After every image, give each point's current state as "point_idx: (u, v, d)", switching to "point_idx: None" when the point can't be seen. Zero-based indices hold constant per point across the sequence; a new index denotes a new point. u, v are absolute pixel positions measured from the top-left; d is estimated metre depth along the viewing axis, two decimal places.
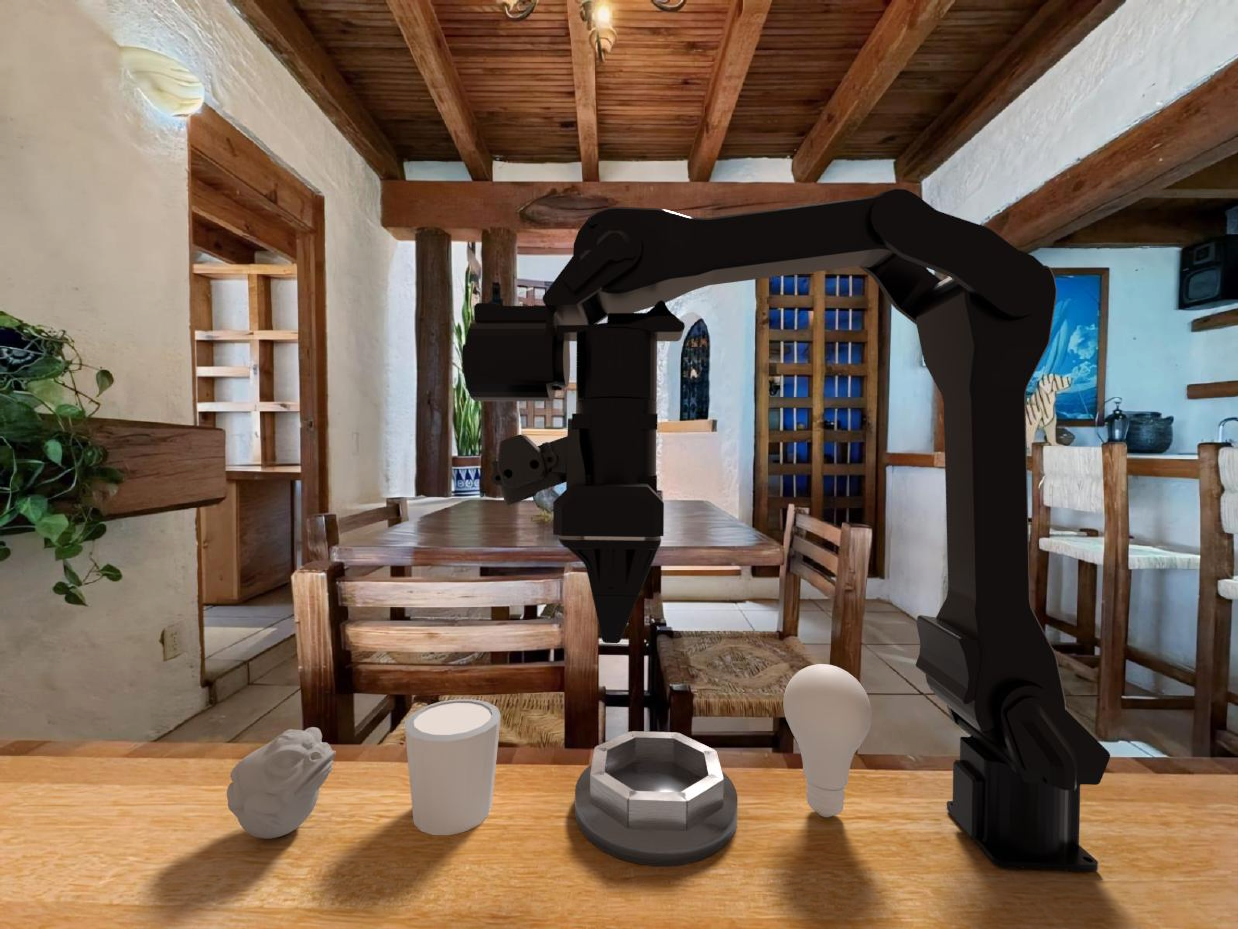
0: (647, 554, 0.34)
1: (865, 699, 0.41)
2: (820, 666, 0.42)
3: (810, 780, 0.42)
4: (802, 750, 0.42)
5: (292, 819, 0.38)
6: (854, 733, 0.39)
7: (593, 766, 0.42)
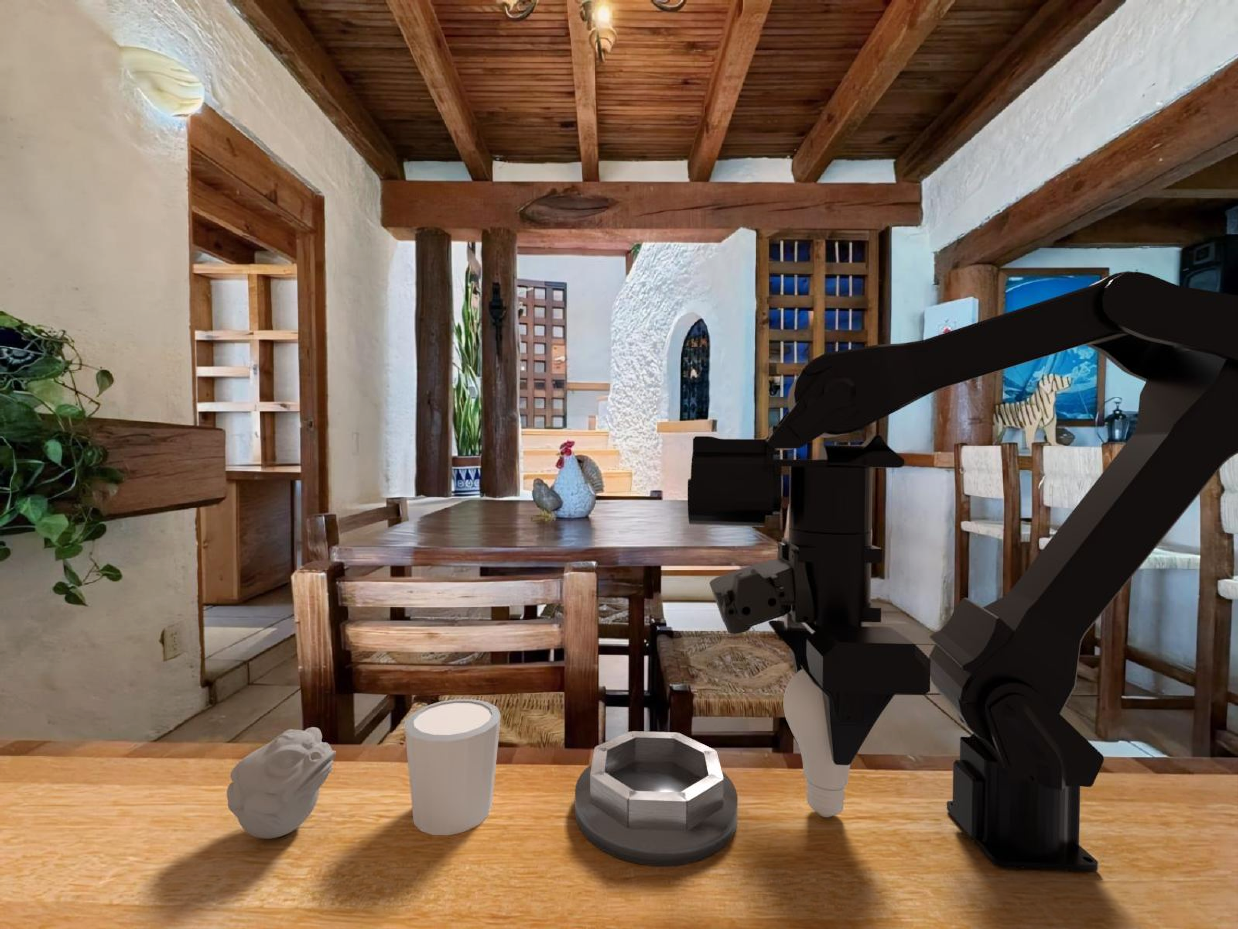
0: None
1: None
2: None
3: (810, 780, 0.42)
4: (802, 750, 0.42)
5: (292, 819, 0.38)
6: None
7: (593, 766, 0.42)
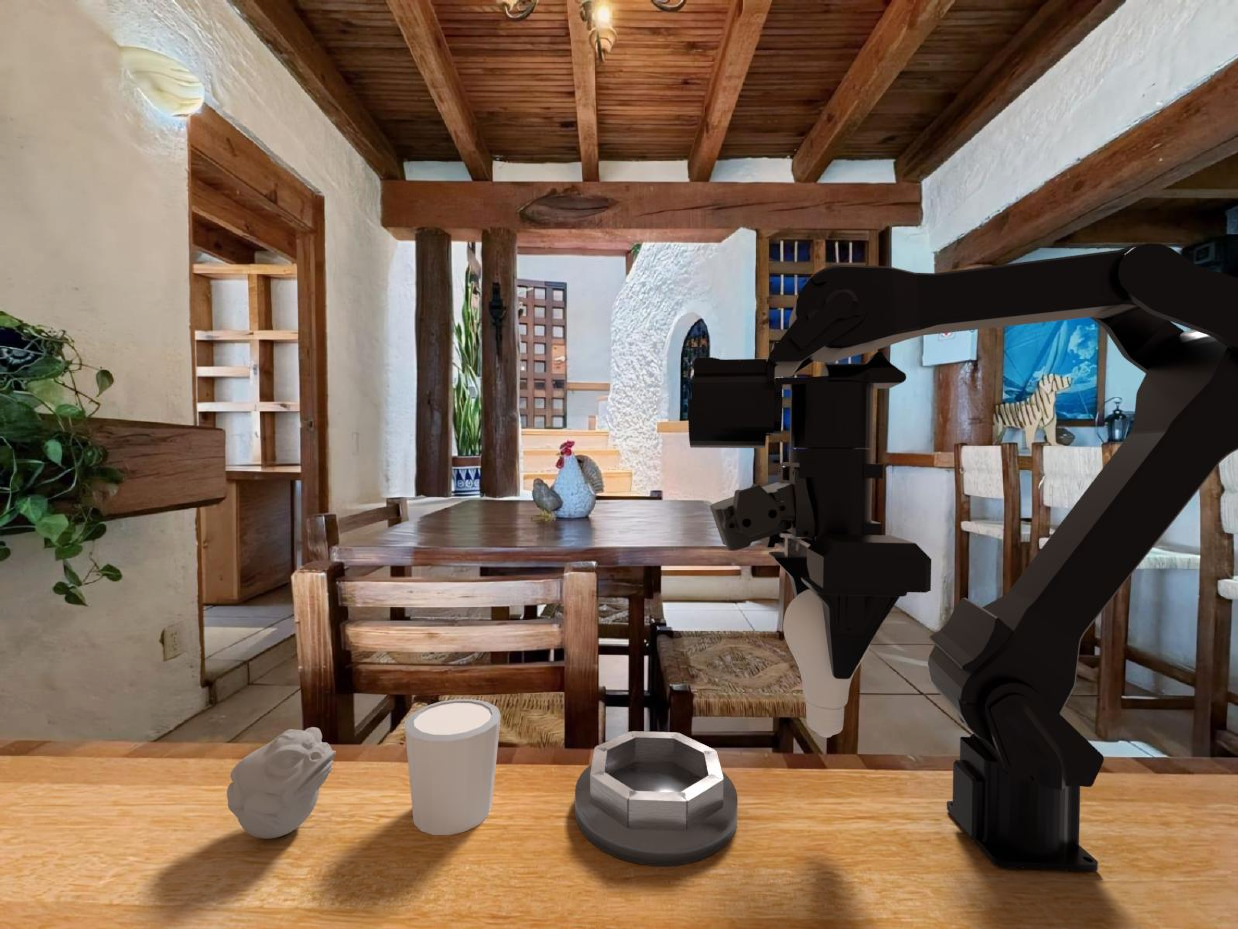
0: (888, 599, 0.37)
1: None
2: None
3: (810, 700, 0.41)
4: (802, 670, 0.42)
5: (292, 819, 0.38)
6: None
7: (593, 766, 0.42)
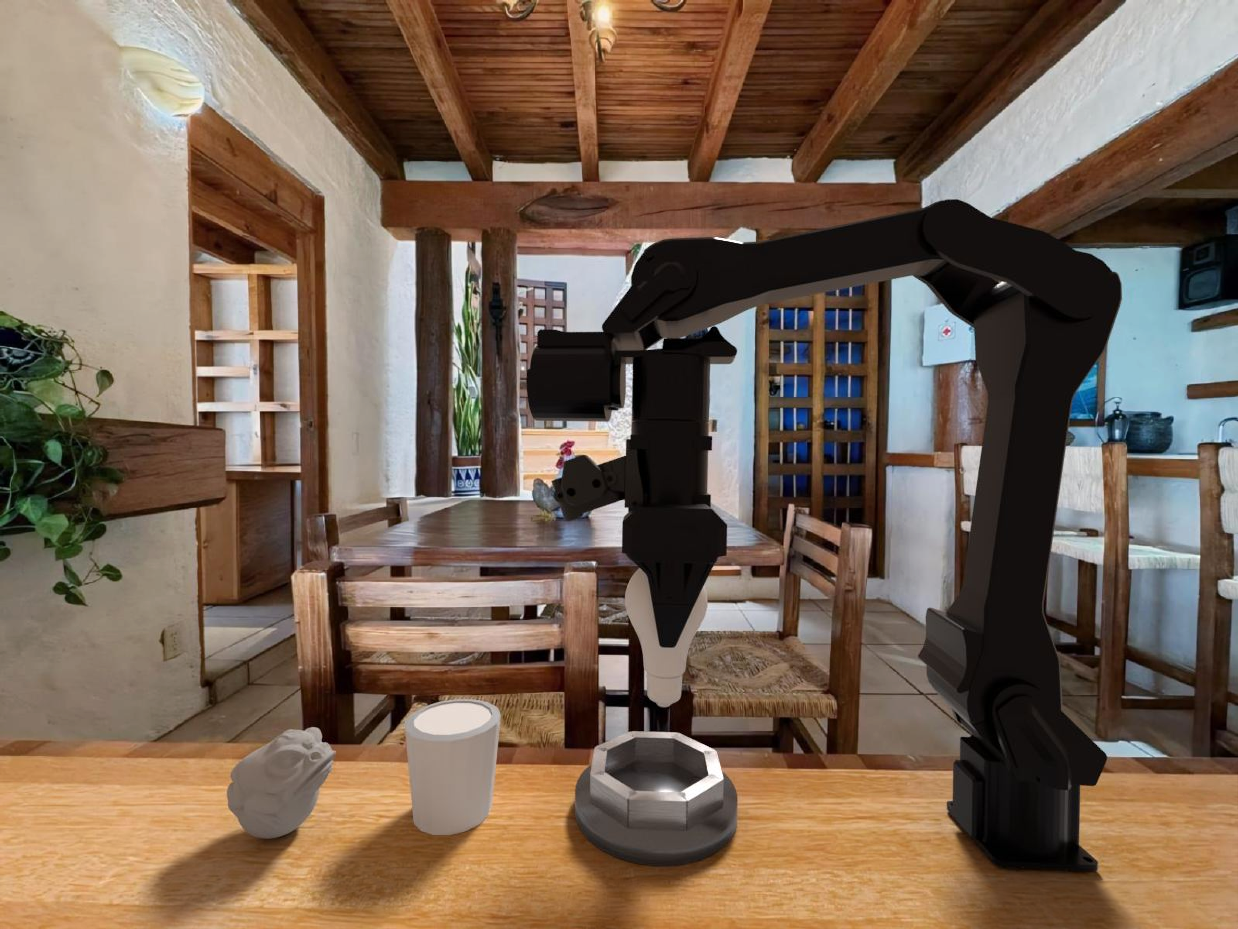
0: (704, 567, 0.37)
1: None
2: None
3: (646, 669, 0.42)
4: (640, 640, 0.42)
5: (292, 819, 0.38)
6: None
7: (593, 766, 0.42)
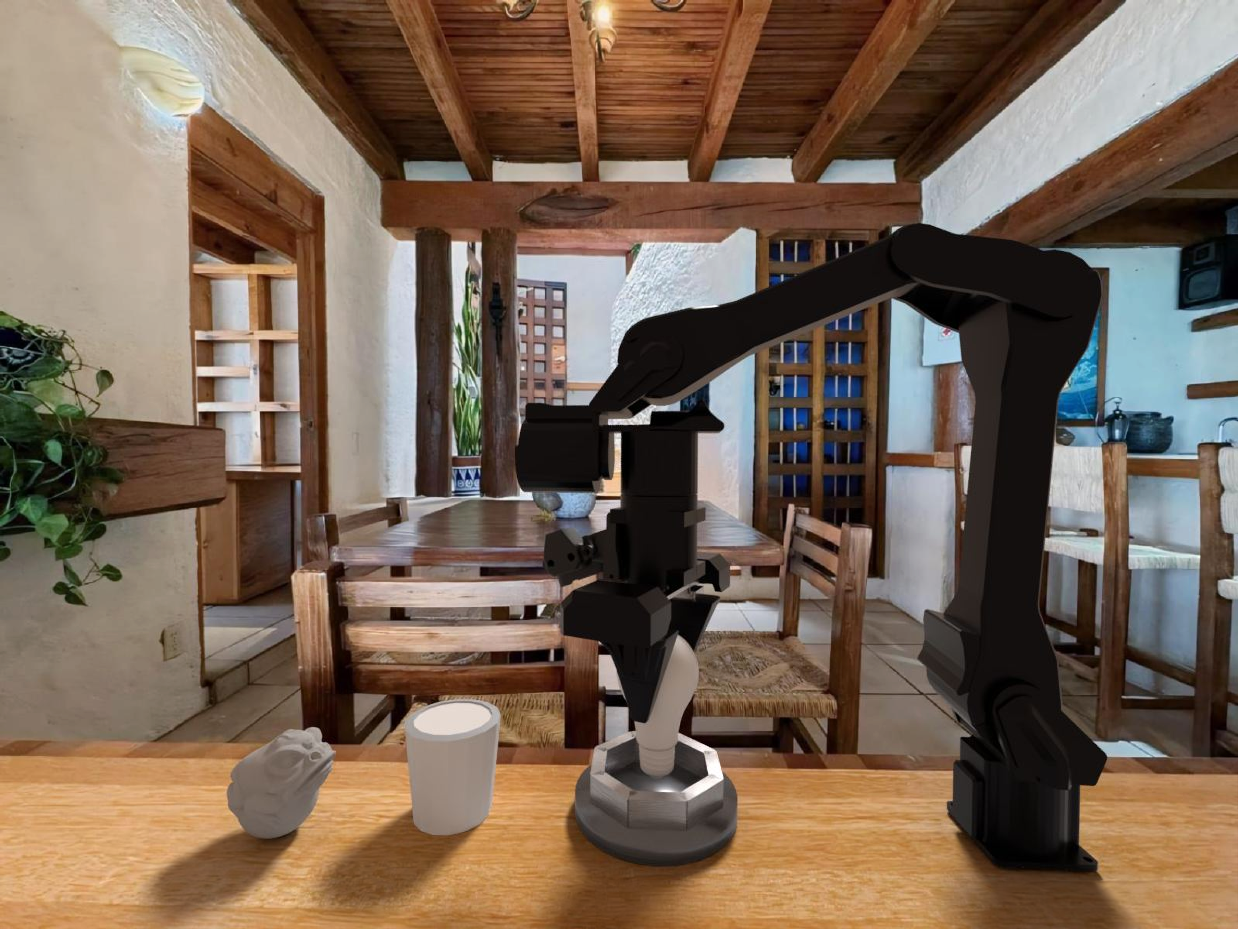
0: (659, 650, 0.37)
1: (678, 664, 0.40)
2: None
3: (636, 738, 0.43)
4: None
5: (292, 819, 0.38)
6: None
7: (593, 766, 0.42)
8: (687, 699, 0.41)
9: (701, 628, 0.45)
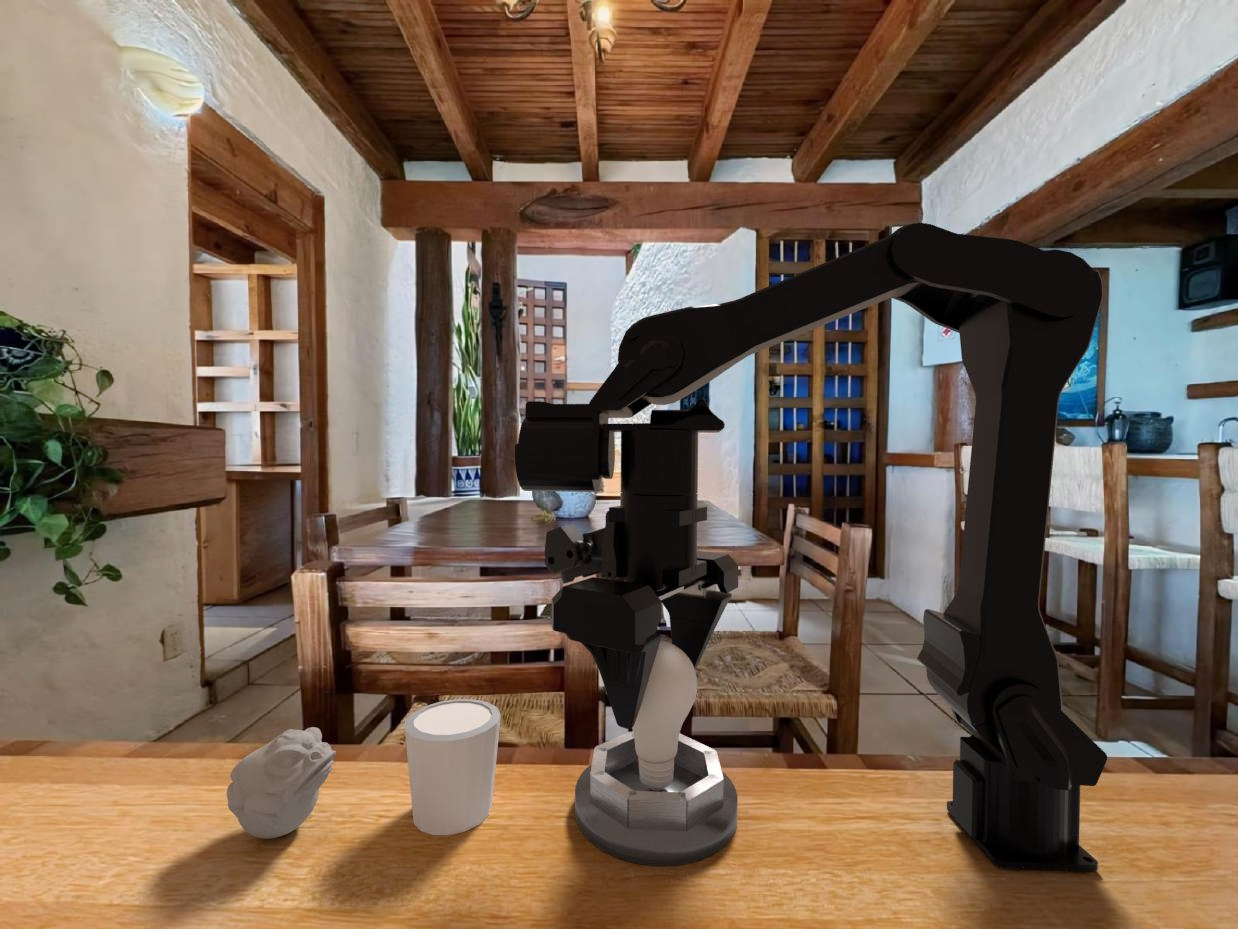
0: (640, 654, 0.36)
1: (673, 677, 0.40)
2: None
3: (635, 749, 0.43)
4: None
5: (292, 819, 0.38)
6: (649, 707, 0.40)
7: (593, 766, 0.42)
8: (683, 712, 0.41)
9: (710, 624, 0.46)
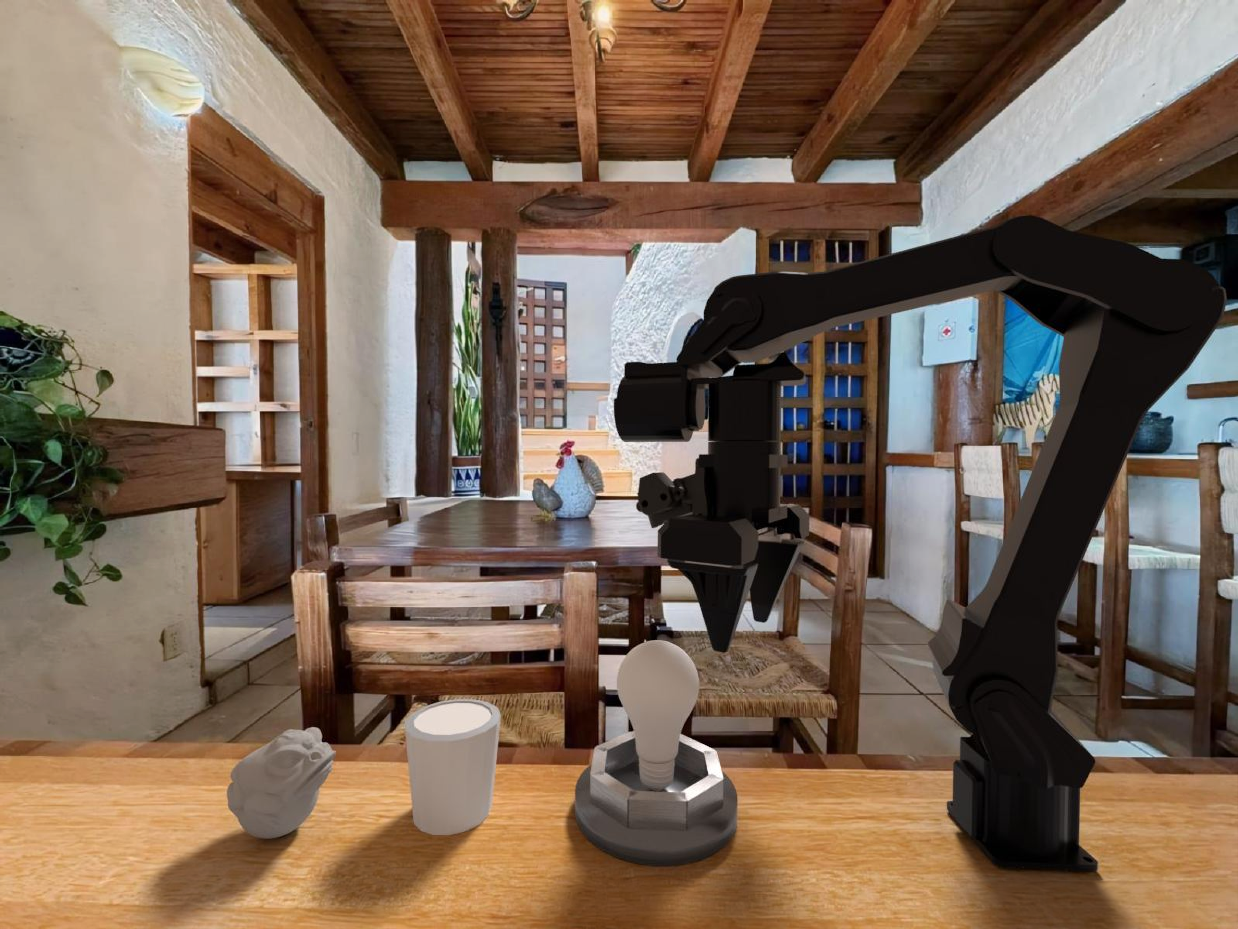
0: (740, 579, 0.40)
1: (675, 677, 0.40)
2: (654, 641, 0.43)
3: (636, 749, 0.43)
4: None
5: (292, 819, 0.38)
6: (651, 707, 0.40)
7: (593, 766, 0.42)
8: (685, 713, 0.41)
9: (787, 567, 0.49)
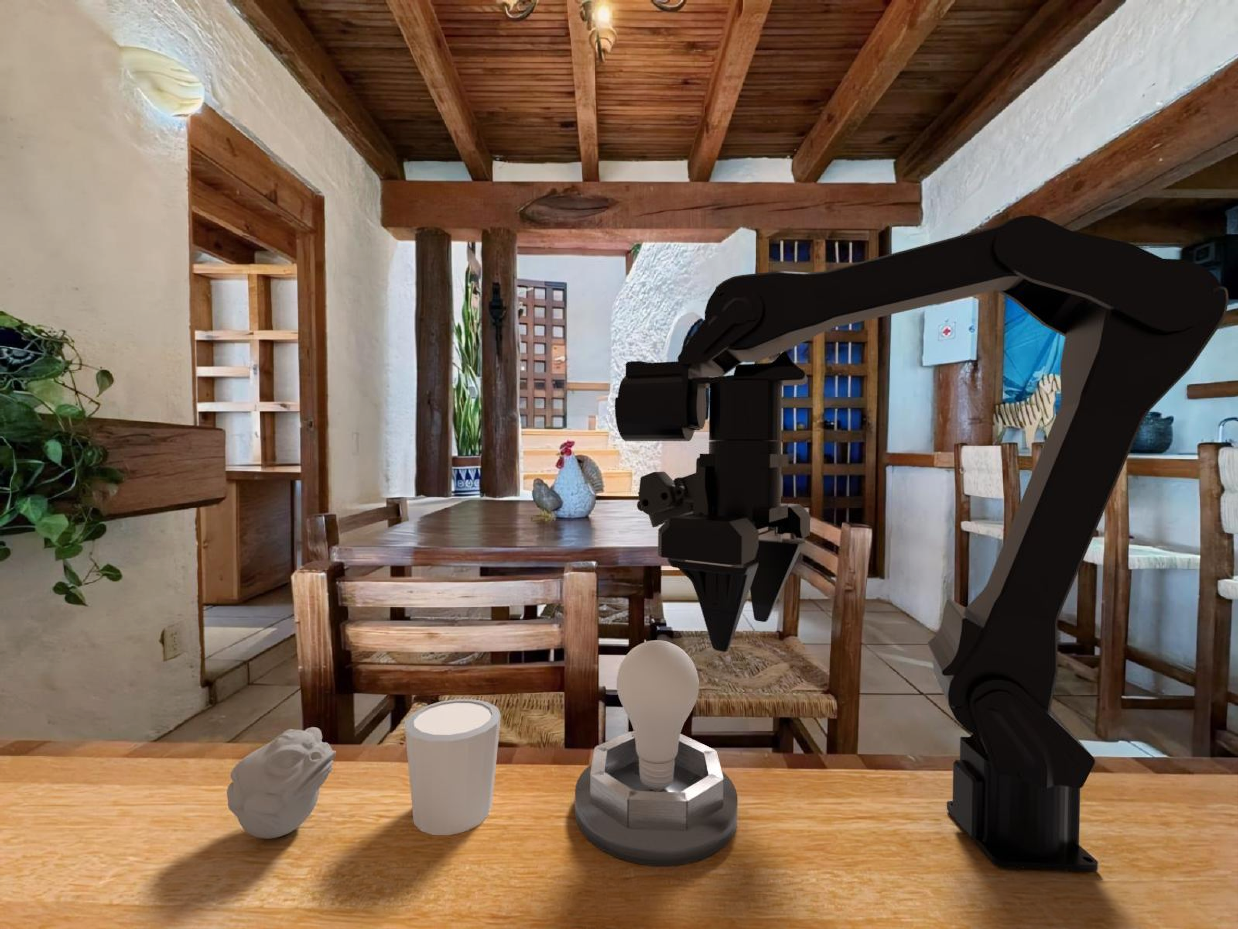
0: (740, 579, 0.40)
1: (675, 678, 0.40)
2: (653, 641, 0.43)
3: None
4: None
5: (292, 819, 0.38)
6: (651, 707, 0.40)
7: (593, 766, 0.42)
8: (685, 713, 0.41)
9: (788, 566, 0.49)
